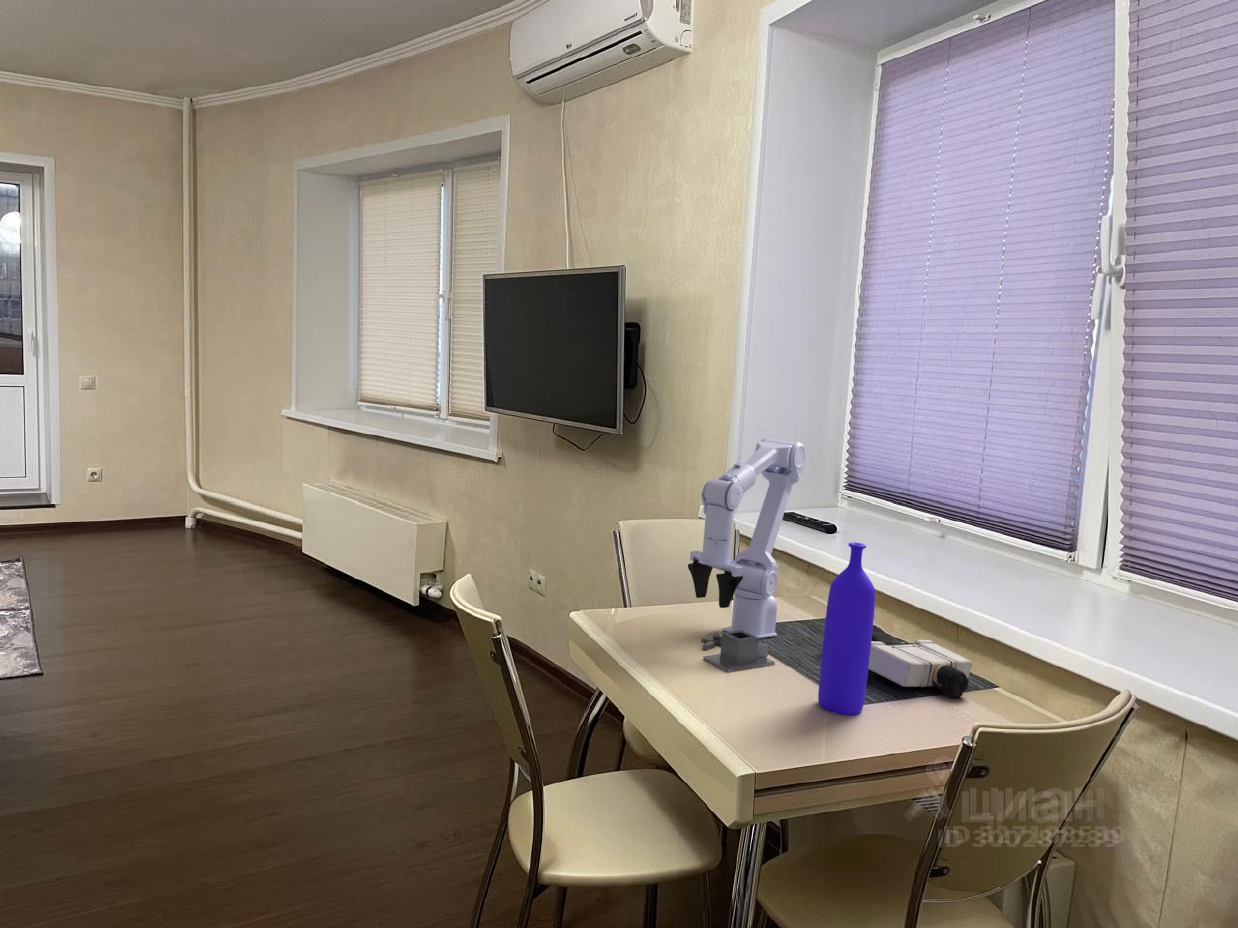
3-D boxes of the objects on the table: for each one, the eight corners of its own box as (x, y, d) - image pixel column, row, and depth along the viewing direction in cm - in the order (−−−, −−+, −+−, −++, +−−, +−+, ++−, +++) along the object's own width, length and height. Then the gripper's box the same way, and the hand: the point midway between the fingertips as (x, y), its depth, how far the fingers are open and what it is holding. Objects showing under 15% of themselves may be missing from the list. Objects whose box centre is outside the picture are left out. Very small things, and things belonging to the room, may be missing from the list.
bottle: (865, 719, 165) (883, 551, 161) (816, 712, 166) (833, 545, 162) (862, 702, 173) (880, 541, 169) (816, 695, 174) (832, 536, 171)
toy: (814, 653, 198) (925, 707, 173) (819, 620, 197) (931, 670, 172) (878, 649, 208) (992, 700, 183) (884, 618, 207) (999, 665, 182)
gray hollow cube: (739, 653, 193) (741, 630, 193) (756, 661, 189) (758, 637, 188) (720, 656, 190) (722, 632, 190) (736, 665, 186) (739, 640, 186)
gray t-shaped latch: (711, 636, 206) (711, 628, 205) (732, 641, 203) (733, 633, 203) (693, 647, 197) (694, 638, 197) (715, 652, 195) (716, 643, 195)
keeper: (750, 651, 197) (752, 635, 196) (776, 664, 190) (778, 647, 190) (703, 659, 190) (704, 641, 190) (728, 672, 184) (729, 654, 183)
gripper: (680, 531, 197) (675, 594, 199) (725, 546, 185) (719, 613, 187) (707, 529, 201) (701, 591, 203) (752, 544, 189) (746, 610, 191)
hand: (712, 602), depth 195 cm, fingers open, 7 cm apart
